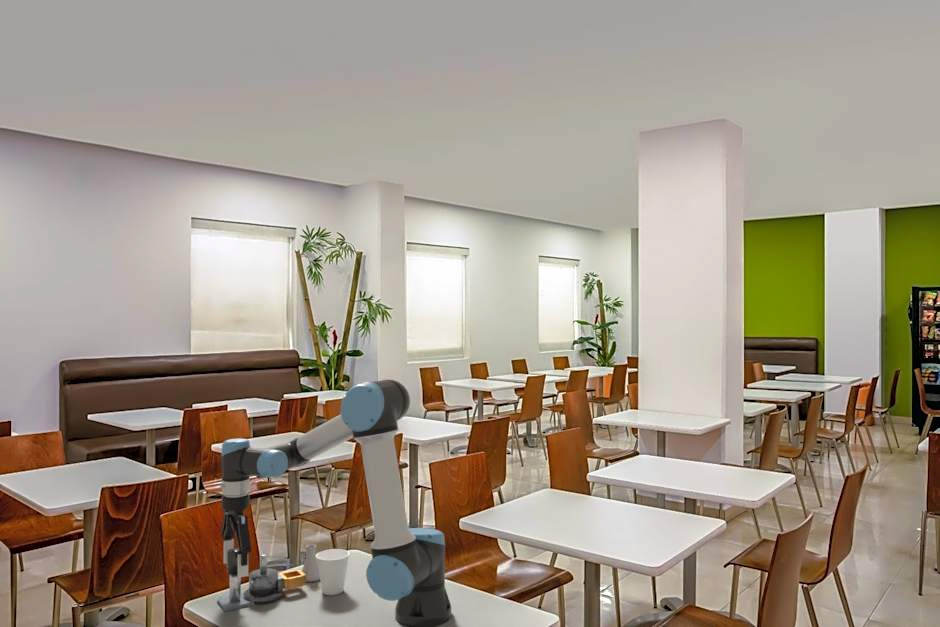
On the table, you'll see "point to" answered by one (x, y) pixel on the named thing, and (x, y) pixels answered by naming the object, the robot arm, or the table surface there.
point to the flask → (311, 565)
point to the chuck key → (233, 575)
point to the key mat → (230, 606)
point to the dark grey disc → (264, 597)
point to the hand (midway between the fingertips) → (235, 569)
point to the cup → (332, 570)
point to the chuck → (273, 579)
